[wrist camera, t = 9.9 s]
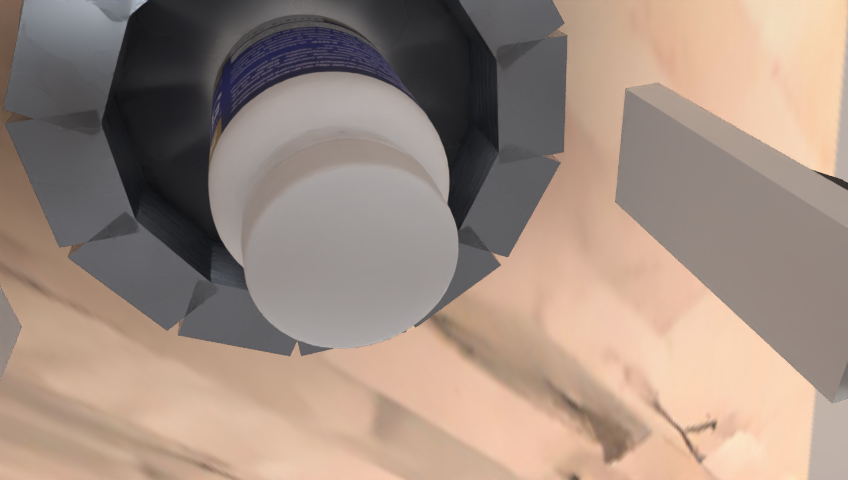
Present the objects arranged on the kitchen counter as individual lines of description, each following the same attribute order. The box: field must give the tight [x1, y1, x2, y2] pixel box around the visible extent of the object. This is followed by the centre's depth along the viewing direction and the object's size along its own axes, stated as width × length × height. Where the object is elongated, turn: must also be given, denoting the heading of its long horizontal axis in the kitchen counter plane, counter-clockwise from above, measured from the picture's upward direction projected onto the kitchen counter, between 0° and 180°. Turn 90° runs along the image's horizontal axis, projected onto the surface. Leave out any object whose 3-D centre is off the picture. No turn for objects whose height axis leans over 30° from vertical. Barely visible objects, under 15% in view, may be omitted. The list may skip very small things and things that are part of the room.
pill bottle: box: [208, 14, 458, 349], centre depth 16 cm, size 5×5×9 cm
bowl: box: [3, 0, 567, 356], centre depth 19 cm, size 15×15×4 cm
